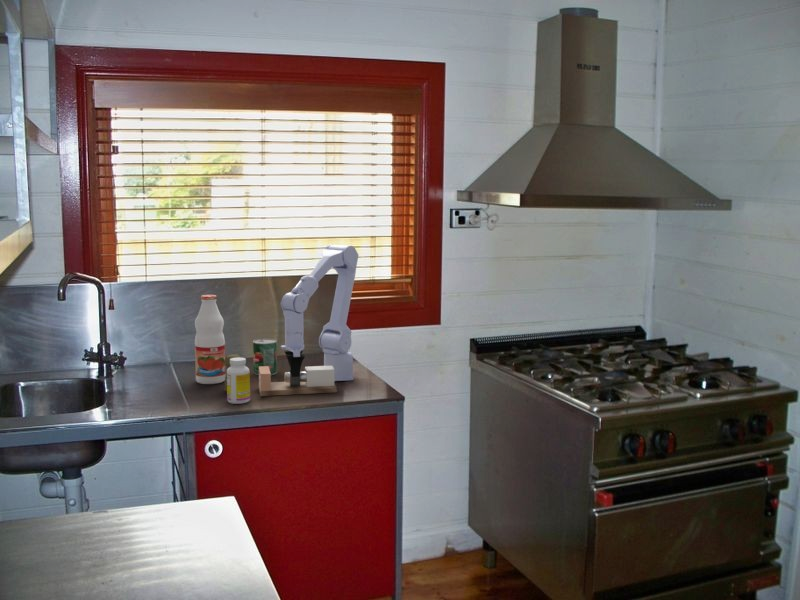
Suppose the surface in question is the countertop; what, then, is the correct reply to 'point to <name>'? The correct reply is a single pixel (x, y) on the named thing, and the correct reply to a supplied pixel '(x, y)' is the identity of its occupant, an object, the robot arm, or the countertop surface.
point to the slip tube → (295, 378)
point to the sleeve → (319, 376)
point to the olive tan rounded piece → (227, 362)
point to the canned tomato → (265, 355)
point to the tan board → (295, 389)
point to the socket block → (264, 378)
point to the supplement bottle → (238, 381)
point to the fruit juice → (209, 343)
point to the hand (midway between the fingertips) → (294, 374)
